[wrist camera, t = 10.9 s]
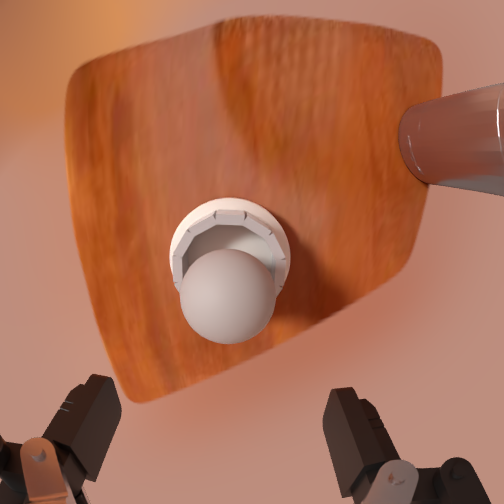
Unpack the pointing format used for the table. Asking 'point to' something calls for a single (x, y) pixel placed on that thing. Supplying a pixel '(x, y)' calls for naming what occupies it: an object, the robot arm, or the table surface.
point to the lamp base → (231, 237)
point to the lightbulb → (227, 296)
